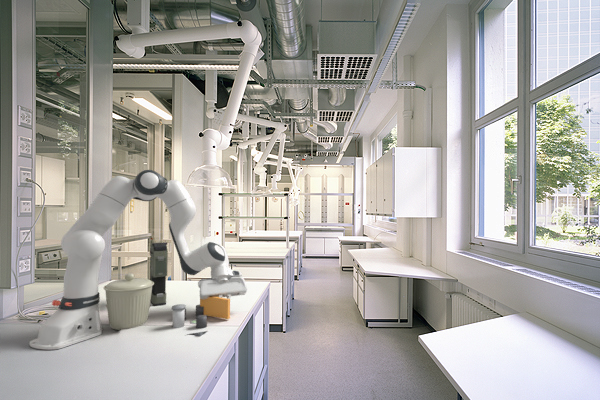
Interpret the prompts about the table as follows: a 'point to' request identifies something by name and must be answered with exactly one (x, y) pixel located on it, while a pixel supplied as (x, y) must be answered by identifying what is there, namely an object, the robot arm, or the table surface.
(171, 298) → the table surface
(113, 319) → the canister
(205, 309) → the tan wooden plank
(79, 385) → the table surface
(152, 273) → the device
